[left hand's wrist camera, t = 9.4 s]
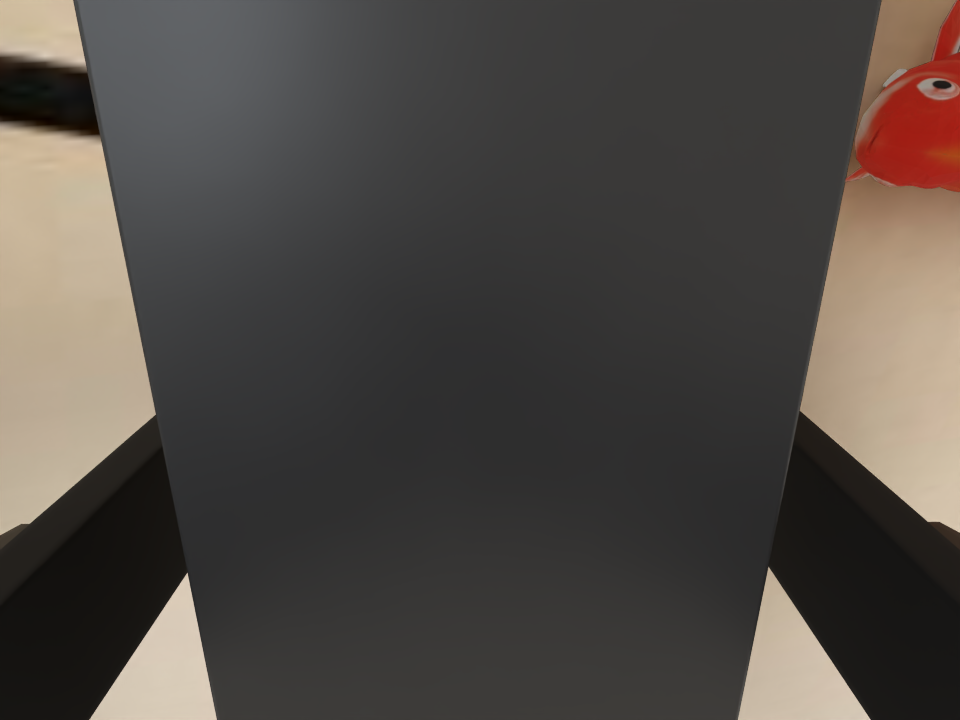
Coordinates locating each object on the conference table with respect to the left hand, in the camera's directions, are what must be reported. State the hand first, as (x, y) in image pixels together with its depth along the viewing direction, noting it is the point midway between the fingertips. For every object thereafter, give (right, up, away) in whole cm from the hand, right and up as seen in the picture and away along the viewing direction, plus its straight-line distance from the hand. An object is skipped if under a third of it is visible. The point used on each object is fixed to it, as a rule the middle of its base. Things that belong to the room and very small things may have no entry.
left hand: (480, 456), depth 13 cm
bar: (0, +13, -3) cm, 13 cm away
